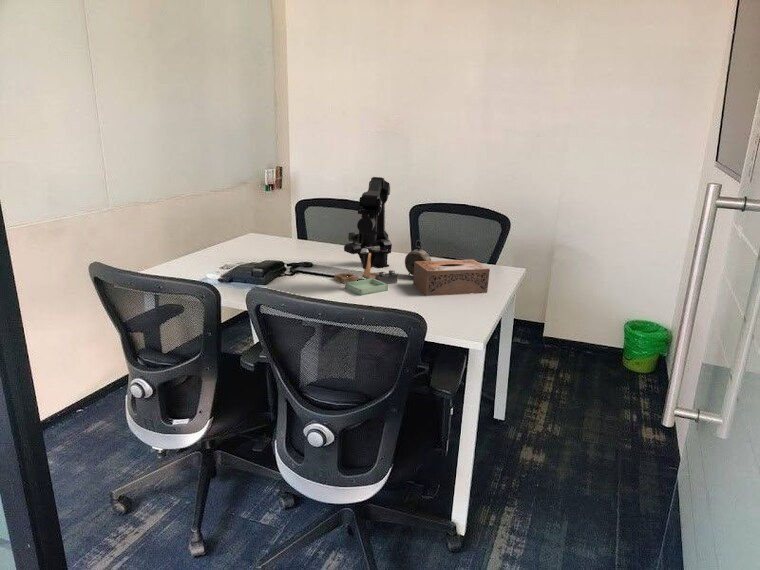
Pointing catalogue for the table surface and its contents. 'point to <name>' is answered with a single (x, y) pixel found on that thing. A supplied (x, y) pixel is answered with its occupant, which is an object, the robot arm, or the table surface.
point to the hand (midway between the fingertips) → (367, 268)
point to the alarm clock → (415, 258)
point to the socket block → (345, 277)
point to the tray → (366, 286)
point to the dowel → (368, 266)
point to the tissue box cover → (450, 277)
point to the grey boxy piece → (387, 277)
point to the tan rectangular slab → (372, 275)
